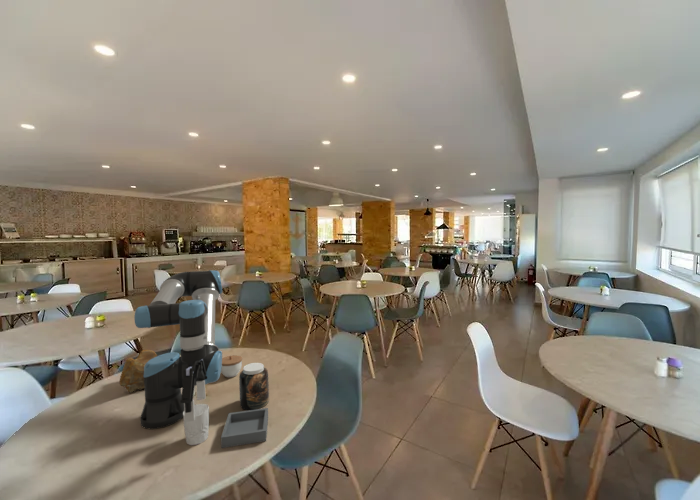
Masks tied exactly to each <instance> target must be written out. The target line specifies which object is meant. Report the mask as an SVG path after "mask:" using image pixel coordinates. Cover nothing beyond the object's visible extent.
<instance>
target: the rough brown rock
mask: <svg viewBox="0 0 700 500" xmlns="http://www.w3.org/2000/svg"><path fill="white" fill-rule="evenodd" d="M157 356H158V354H157V352H155V351H154V350H152V349H143V350H141V351H140V352H139V354H138V355H137V357H136V358H135V359H134V358H133V357H128V358H126V359H125V362H124V365H123V368H122V371H121V373H120V377H119V385H120V386H121V387H124V388H125V390H126V392H128V393H130V392H131V393H134V392H136V391H137V390H142V389H145V387H144V377H143V375H144V366H145V364H146V363H147V362H148V361H149V360H151V359H152V358H154V357H157ZM133 391H134V392H133Z"/></svg>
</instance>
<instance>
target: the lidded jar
mask: <svg viewBox="0 0 700 500" xmlns="http://www.w3.org/2000/svg"><path fill="white" fill-rule="evenodd" d="M242 368H243V356H240V355H228V356H227V355H226V356H225V357H222V367H221V373H220V374H222V375H223V376H224V377H225V378H233V377H236V376H238V374H240V372H241V371H242Z"/></svg>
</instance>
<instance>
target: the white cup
mask: <svg viewBox="0 0 700 500" xmlns="http://www.w3.org/2000/svg"><path fill="white" fill-rule="evenodd" d="M194 413H195V420H194V421H189V422H185V417H184V412H183V418H182V419H183V428H184V435H185V442H186V444H187V445H189V446H196V445H200V444H201V443H204V442H205V441H206V440H207V439H208V437H209V426H210V425H209V424H210V423H209V422H210V406H209V404H206V403H196V404H194Z"/></svg>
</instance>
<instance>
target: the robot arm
mask: <svg viewBox="0 0 700 500" xmlns="http://www.w3.org/2000/svg"><path fill="white" fill-rule="evenodd" d="M222 293H223V286H222V279H221V273H220V271H219V270H214V269H213V270H211V269H209V270H196V271H195V270H193V271H182V272H179V273H176V274H173V275H171V276H170V277H168V278H166V279H165V280H163V282H162V283H161V285H160V286H159V291H158V293H157V294H156V296H155V297H154V298H153V300H152V301H151V303H149V304H148V305H146V304H145V305H142V306H138V307H137V308H136V309H135V311H134V325H135V327H136V328H138V329H151V328H158V327H165V326H166V327H167V326H176V325H177V326H178V325H179V348H180V349H181V350H180V353H179V352H176V351H175V352H174V351H171V352H166V353H163V354H159V355H157V357H154V358H152V359H151V360H149V361H148V362H147V363H146V364H145V366H144V375H143V377H144V387H145V388H144V401H145V402H144V404H143V408H142V411H141V415H140V417H139V418H140V419H139V420H140V426H141V427H142V426H143V427H145V428H144V429H147V428H150V429H149V430H153V429H154V430H155V429H160V428H164V427H168V426H170V425H173V424H175V423H177V422H178V421H180V420H182V419H183V412H184V417H185V422H189V421H194V420H195V413H194V405H195V399H194V394H195V393H194V392H195V387H196V401H199V400H206V396H207V395H206V385H208V384H211V383H215V382H217V381H218V380H219V379H220V377H221V374H222V373H221V367H222V358H223V351H222V350H220V349H219V347H218V345H216V342H215V341H216V300H218V298H220V295H221V294H222ZM181 297H182V298H183V297H191V298H192V299H190V300H184V301H181V302H178V303H177V301H178V299H179V298H181ZM143 427H142V428H143Z"/></svg>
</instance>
